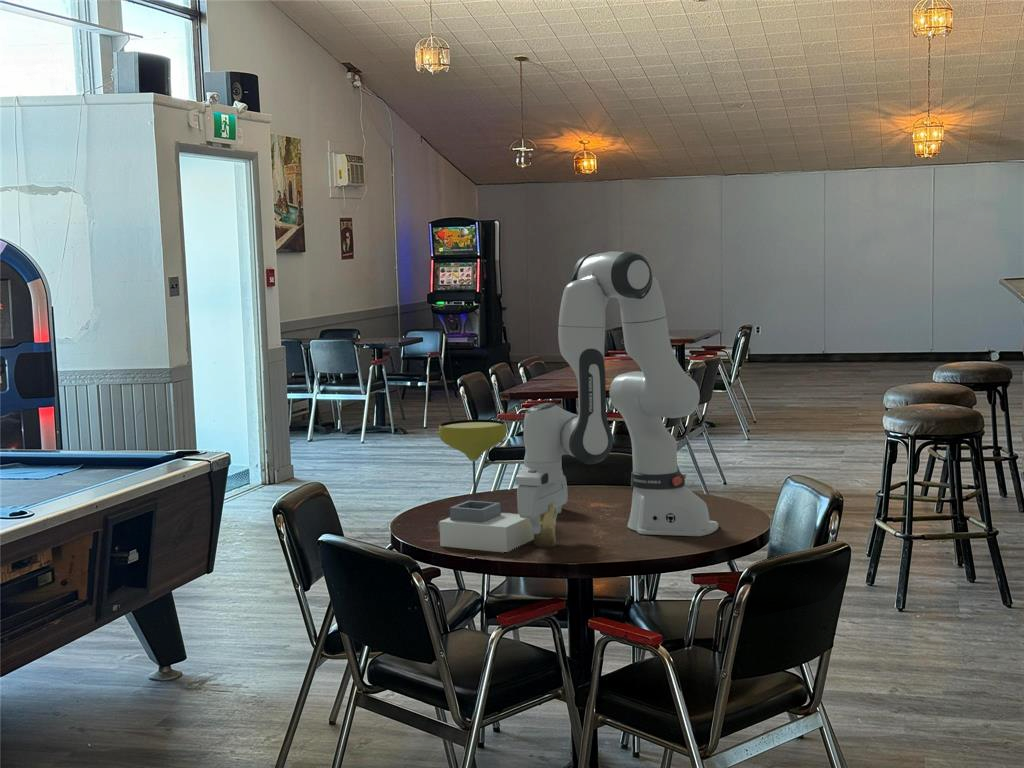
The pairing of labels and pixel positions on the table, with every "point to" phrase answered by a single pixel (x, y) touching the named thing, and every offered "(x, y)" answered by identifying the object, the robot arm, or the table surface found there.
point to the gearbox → (484, 528)
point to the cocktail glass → (472, 438)
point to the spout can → (546, 529)
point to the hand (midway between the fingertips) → (544, 529)
